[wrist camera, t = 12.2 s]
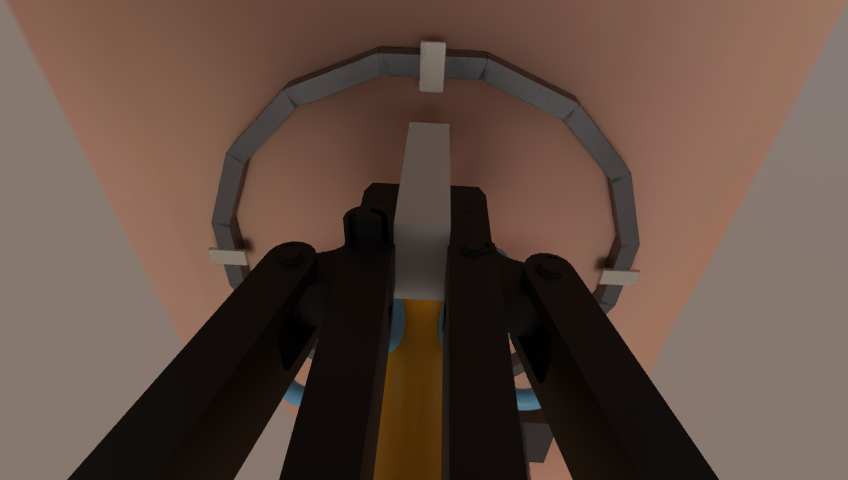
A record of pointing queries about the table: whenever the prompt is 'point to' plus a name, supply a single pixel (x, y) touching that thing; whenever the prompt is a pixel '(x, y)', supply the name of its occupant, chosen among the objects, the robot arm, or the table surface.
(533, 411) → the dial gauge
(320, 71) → the centring ring
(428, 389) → the cylinder
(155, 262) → the table surface
